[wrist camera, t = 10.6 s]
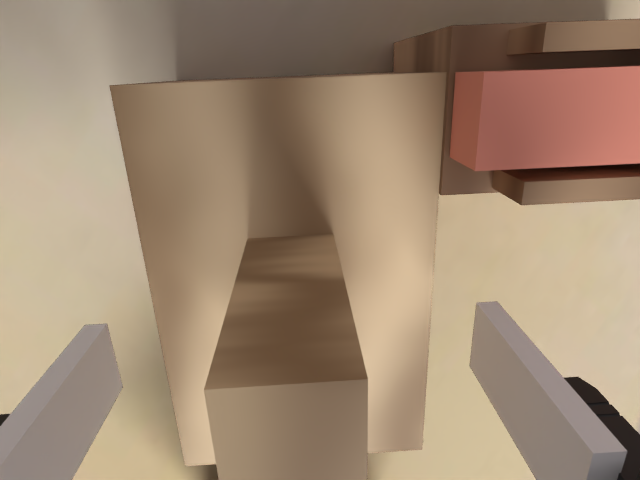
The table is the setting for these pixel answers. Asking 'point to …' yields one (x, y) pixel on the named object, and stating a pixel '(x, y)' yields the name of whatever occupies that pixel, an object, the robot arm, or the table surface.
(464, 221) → the table surface
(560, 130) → the pink rectangular block
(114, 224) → the table surface
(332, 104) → the lid
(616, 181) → the brown wooden open box
